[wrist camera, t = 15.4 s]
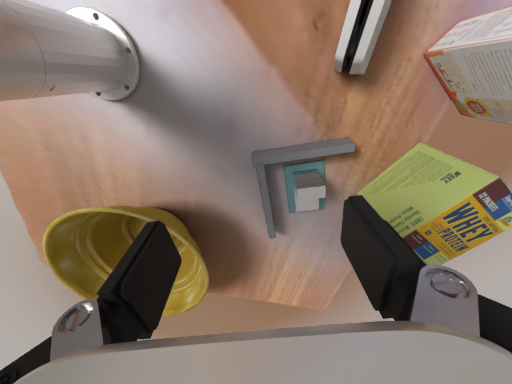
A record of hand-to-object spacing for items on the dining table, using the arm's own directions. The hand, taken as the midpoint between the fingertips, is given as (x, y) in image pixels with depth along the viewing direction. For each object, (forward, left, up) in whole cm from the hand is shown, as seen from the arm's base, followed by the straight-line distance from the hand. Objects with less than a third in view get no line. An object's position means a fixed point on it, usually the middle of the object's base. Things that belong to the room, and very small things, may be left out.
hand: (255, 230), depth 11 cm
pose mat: (+7, -16, -31) cm, 36 cm away
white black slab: (+17, +13, -32) cm, 38 cm away
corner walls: (+7, -16, -31) cm, 36 cm away
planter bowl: (-31, -23, -32) cm, 50 cm away
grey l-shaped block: (+7, -16, -31) cm, 36 cm away
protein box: (+27, -18, -32) cm, 46 cm away
